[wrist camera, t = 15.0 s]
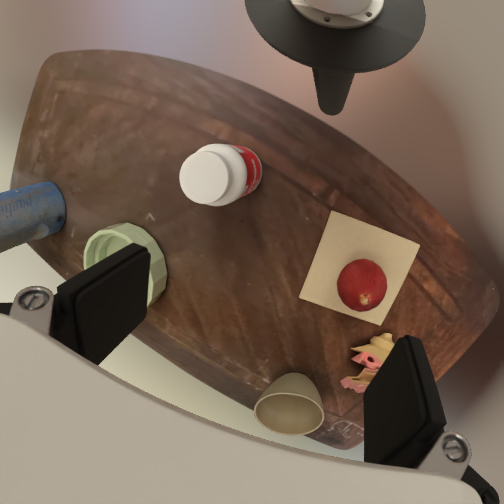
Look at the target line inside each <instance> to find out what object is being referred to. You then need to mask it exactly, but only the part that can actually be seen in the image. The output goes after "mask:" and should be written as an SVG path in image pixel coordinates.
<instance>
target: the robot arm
mask: <svg viewBox="0 0 504 504" xmlns="http://www.w3.org/2000/svg"><path fill="white" fill-rule="evenodd" d="M290 1H291V3H292V5H293V6H294V7H295V9H296V10H297V11H298V12H299V13H300V14H301V15H302V16H304V17H305V18H307V19H308V20H310V21H312V22H314V23H317V24H319V25H322V26H325V27H329V28H336V29H351V28H358V27H361V26H364V25H366V24H368V23H370V22H372V21H373V20H374V19H375V18H377V16H378V15H379V14H380V12H381V10H382V7H383V3H384V0H290ZM368 16H369V17H368ZM326 21H329V22H326ZM150 262H151V254H150V253H149V252H148V249H147V247H144V246H142V245H139V244H136V243H131V244H129V245H127V246H125V247H124V248H122V249H120V250H118V251H116V252H115V253H113V254H111V255H109V256H108V257H106V258H104V259H103V260H101V261H99V262H97V263H96V264H94V265H92V266H91V267H89V268H87V269H86V270H84V271H82V272H81V273H79V274H77V275H76V276H74V277H72V278H71V279H69V280H67V281H66V282H64V283H63V284H61V285H59V286H58V287H57V292H58V293H57V294H55V295H53V293H52V291H50V290H49V289H47V288H45V287H41V286H31V287H27V288H25V289H23V290H21V291H20V292H19V293H18V294H17V295H16V297H15V298H14V302H13V303H0V504H499V496H498V493H497V492H496V490H495V489H494V488H493V487H492V486H490V484H489V483H488V482H487V481H485V480H484V479H483V478H482V477H481V476H480V475H479V474H478V473H477V472H476V471H474V469H472V468H471V467H470V466H469V465H468V464H469V462H470V459H471V456H472V452H471V447H470V444H469V443H468V441H467V439H465V437H464V436H463V435H461V434H460V433H458V432H455V431H446V432H444V428H443V427H444V426H445V425H446V419H445V415H444V411H443V407H442V404H441V400H440V397H439V393H438V390H437V386H436V383H435V380H434V377H433V373H432V370H431V367H430V364H429V361H428V358H427V355H426V352H425V350H424V347H423V344H422V341H421V339H419V338H416V337H413V336H409V335H405V336H404V337H403V338H402V337H400V338H399V339H398V340H397V342H396V343H395V345H394V347H393V348H392V350H391V351H390V353H389V355H388V356H387V358H386V359H385V361H384V362H383V364H382V366H381V367H380V369H379V370H378V372H377V373H376V375H375V376H374V378H373V379H372V380H371V382H370V383H369V385H368V386H367V388H366V389H365V392H364V396H363V400H364V462H360V461H355V460H349V459H343V458H338V457H333V456H327V455H323V454H318V453H314V452H309V451H305V450H301V449H297V448H294V447H289V446H286V445H282V444H279V443H275V442H272V441H268V440H265V439H262V438H259V437H255V436H252V435H249V434H246V433H243V432H240V431H237V430H234V429H232V428H228V427H226V426H223V425H221V424H218V423H215V422H213V421H210V420H207V419H205V418H203V417H200V416H198V415H195V414H193V413H190V412H188V411H186V410H183V409H181V408H179V407H177V406H174V405H172V404H170V403H168V402H166V401H163V400H161V399H159V398H157V397H155V396H153V395H151V394H149V393H147V392H145V391H143V390H141V389H139V388H137V387H135V386H133V385H131V384H129V383H127V382H126V381H123V380H122V379H120V378H118V377H116V376H115V375H113V374H111V373H109V372H108V371H106V370H104V369H102V368H101V367H99V366H98V365H99V364H100V363H101V362H102V361H103V360H104V359H105V358H106V357H107V356H108V355H109V354H110V353H111V352H112V351H113V350H114V348H116V347H117V346H118V345H119V344H120V343H121V342H122V341H123V340H124V339H125V338H126V337H127V336H128V335H129V334H130V333H131V332H132V331H133V330H134V329H135V328H136V327H137V326H138V325H139V324H140V323H141V322H142V321H143V320H144V318H145V316H146V313H147V300H148V286H149V273H150Z"/></svg>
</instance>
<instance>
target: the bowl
mask: <svg viewBox="0 0 504 504" xmlns="http://www.w3.org/2000/svg"><path fill="white" fill-rule="evenodd" d="M131 243H136V244H139V245H142V246H144V247H147V249H148V252H149V253H150V254H151V262H150V273H149V286H148V300H147V308H148V307H149V306H150V305H151V304H153V303H154V302H155V301H156V300H157V299H158V298H159V296H160V295H161V294H162V292H163V291H164V289H165V286H166V279H167V269H166V264H165V260H164V255H163V254H162V252H161V250H160V248H159V246H158V245H157V243H156V241H155V240H154V239H153V238H152V237H151V236H150V235H149V234H148V233H147V232H146V231H145V230H144V229H142V228H140V227H138V226H135V225H133V224H130V223H121V224H114V225H112V226H109V227H107V228H104V229H102V230H99V231H98V232H97V233H95V234H94V235H93V236H92V237H90V238H89V240H88V243H87V245H86V248H85V250H84V269H85V270H86V269H87V268H89V267H91V266H92V265H94V264H96V263H97V262H99V261H101V260H103V259H104V258H106V257H108V256H109V255H111V254H113V253H115V252H116V251H118V250H120V249H122V248H124V247H125V246H127V245H129V244H131Z"/></svg>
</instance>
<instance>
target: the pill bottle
mask: <svg viewBox="0 0 504 504" xmlns="http://www.w3.org/2000/svg"><path fill="white" fill-rule="evenodd" d="M261 177H262V165H261V162H260V159H259V158H258V156H257V155H256V154H255V153H254V152H253V151H252V150H250V149H248V148H246V147H243V146H237V145H227V144H210V145H207V146H204V147H202V148H201V149H199V150H198V151H197V152H196V153H195V154H193V155H191V156H190V157H188V158H187V159H186V160H185V162H184V163H183V165H182V167H181V170H180V185H181V188H182V190H183V192H184V193H185V195H186V196H187V197H188V198H189V199H191V200H192V201H194V202H196V203H200V204H207V205H210V206H223V205H226V204H229V203H231V202H233V201H235V200H237V199H239V198H241V197H243V196H245V195H247V194H249V193H251V192H252V191H253V190H255V189H256V187H257V186H258V185H259V183H260V180H261Z"/></svg>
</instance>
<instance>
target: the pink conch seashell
mask: <svg viewBox="0 0 504 504" xmlns="http://www.w3.org/2000/svg"><path fill="white" fill-rule="evenodd" d="M393 347H394V343H393V342H392V334H389V333H383V334H382V335H381V336H373V338H371V339H370V344H367V345H364V346H360V347H357V348H350V349H352V350H354V351H357V352H360V354H358V355H356V356H355V357H353V358H351V359H352V360H353V361H355V362H357V363H360V364H362V365H365V366H367V368H365V369H364V370H363V371H362V372H361V373H360V374H359V376H357V377H350V376H347V377H346V378H344V379H342V380H341V381H340V383H341V385H342V386H343V387H344V388H347V387H348V388H350V389H354V390H355V391H356V392H357V393H362V392H365V389H366V388H367V386H368V385H369V383H370V382H371V380H372V379H373V378H374V376H375V375H376V373H377V372H378V370H379V369H380V367H381V366H382V364H383V362H384V361H385V359H386V358H387V356H388V355H389V353H390V351H391V350H392V348H393Z"/></svg>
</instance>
